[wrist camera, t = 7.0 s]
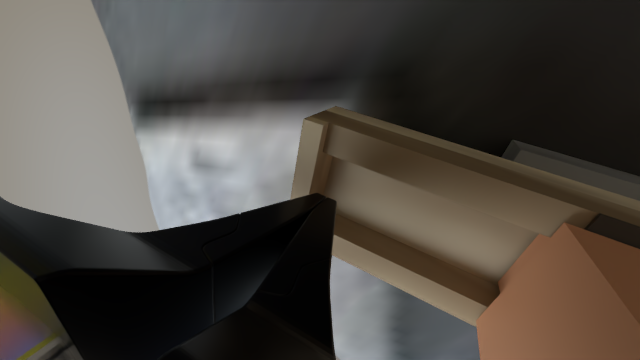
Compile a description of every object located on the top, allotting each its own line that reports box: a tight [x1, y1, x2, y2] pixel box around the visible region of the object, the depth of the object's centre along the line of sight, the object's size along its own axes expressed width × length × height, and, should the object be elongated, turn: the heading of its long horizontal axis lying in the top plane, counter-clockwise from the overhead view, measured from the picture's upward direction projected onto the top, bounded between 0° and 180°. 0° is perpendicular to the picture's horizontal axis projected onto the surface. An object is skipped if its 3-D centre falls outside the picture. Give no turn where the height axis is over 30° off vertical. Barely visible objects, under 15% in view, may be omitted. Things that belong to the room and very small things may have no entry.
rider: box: [476, 222, 640, 360], centre depth 7 cm, size 5×4×6 cm
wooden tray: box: [290, 106, 640, 327], centre depth 10 cm, size 7×20×5 cm, turn 78°
